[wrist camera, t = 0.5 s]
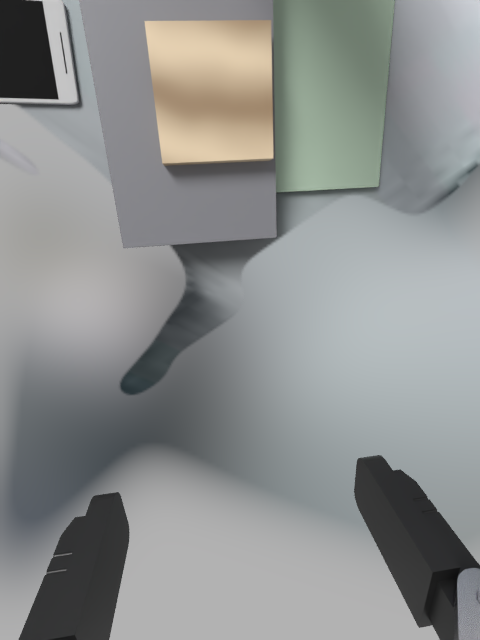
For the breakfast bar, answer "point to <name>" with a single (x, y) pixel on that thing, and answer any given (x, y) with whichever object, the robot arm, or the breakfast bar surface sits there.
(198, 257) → the breakfast bar surface
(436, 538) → the robot arm
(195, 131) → the cork coaster
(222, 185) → the gray rectangular box
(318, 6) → the sage mat
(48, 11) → the smartphone
